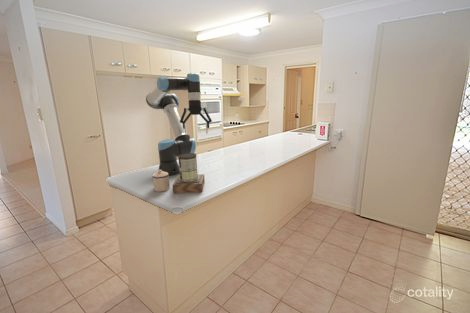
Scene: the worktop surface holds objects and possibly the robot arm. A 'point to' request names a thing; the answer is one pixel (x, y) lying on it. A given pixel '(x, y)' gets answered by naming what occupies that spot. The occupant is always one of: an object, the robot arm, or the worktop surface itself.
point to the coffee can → (188, 167)
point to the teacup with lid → (161, 181)
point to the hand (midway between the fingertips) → (196, 133)
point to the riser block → (189, 185)
